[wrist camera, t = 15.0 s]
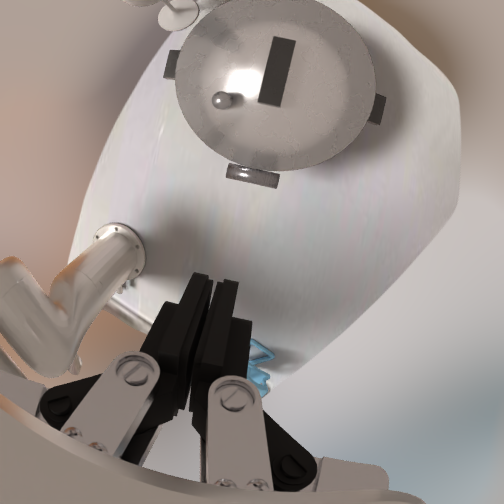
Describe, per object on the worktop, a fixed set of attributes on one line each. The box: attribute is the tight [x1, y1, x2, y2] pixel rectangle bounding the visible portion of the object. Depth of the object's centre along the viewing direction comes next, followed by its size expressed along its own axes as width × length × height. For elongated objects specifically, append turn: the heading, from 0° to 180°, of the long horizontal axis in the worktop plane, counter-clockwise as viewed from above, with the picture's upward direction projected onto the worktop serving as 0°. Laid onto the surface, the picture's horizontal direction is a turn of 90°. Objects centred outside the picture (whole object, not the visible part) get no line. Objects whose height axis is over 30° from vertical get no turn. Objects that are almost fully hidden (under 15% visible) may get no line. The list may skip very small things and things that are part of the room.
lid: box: [175, 0, 376, 189], centre depth 26 cm, size 25×23×4 cm
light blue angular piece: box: [247, 339, 275, 397], centre depth 57 cm, size 8×8×12 cm
